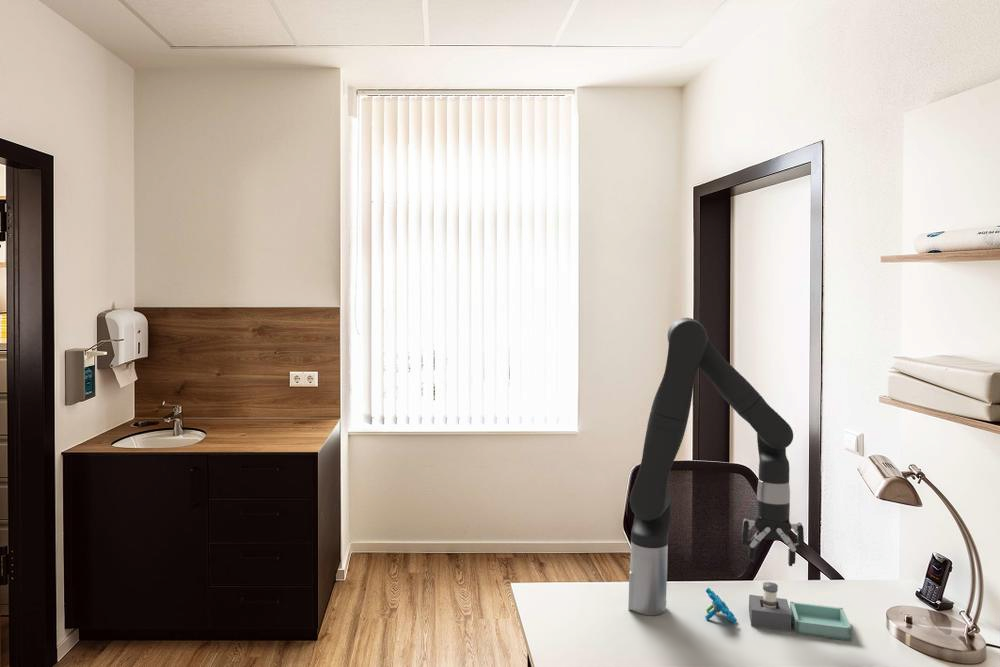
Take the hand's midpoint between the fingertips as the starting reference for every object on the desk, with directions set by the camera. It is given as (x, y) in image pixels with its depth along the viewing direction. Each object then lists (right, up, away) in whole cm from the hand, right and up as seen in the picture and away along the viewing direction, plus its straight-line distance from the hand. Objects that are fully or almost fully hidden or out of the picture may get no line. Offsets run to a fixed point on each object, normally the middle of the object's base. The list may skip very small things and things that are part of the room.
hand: (771, 563), depth 176 cm
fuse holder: (0, -15, +1) cm, 15 cm away
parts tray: (+11, -15, -2) cm, 18 cm away
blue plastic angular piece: (-12, -15, +1) cm, 19 cm away
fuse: (0, -15, +1) cm, 15 cm away
